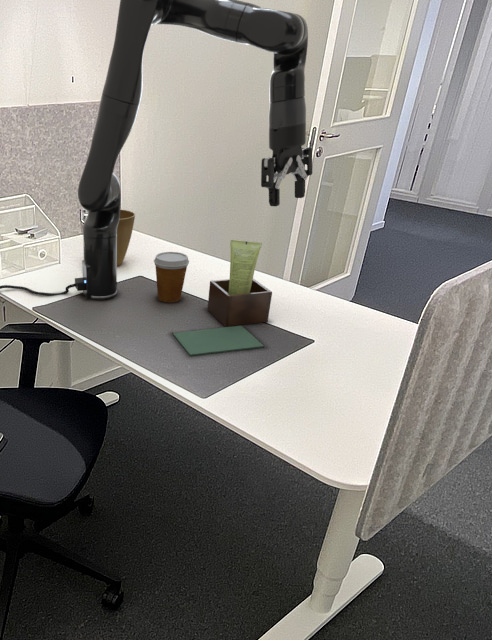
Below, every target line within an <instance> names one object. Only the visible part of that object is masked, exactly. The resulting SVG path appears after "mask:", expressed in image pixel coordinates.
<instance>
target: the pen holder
mask: <svg viewBox="0 0 492 640" xmlns="http://www.w3.org/2000/svg"><path fill="white" fill-rule="evenodd" d="M229 279H230V278H225V279H216V280H210V281H209V289H208V299H207V308H206V309H207V311H209V313H211V315H212V316H214V317H215V319H216V320H218V321H219V322H220V324H222V325H223V326H224V327H233V326H243V325H250V324H258V323H268V322H269V316H270V311H271V304H272V297H273V291H272V290H270V289H269V288H268V287H266V286H265V285H263V284H262V283H261V282H260V281H258V280H256V279H255V278H253V280H252V285H251V289H250V293H247V294H237V295H229V294H228V292H229Z"/></svg>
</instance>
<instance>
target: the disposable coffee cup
mask: <svg viewBox="0 0 492 640" xmlns="http://www.w3.org/2000/svg"><path fill="white" fill-rule="evenodd" d="M153 263H154V265H155V277H156V288H157V299H158V300H159V301H161V302H163V303H176V302H179V301H180V300H181V299H182V293H183V288H184V284H185V280H186V273H187V269H188V265H189V264H190V260H189V256H188V255H187V254H185V253H183V252H178V251H164V252H159V253H157V254H156V255H155V258H154V259H153Z"/></svg>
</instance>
